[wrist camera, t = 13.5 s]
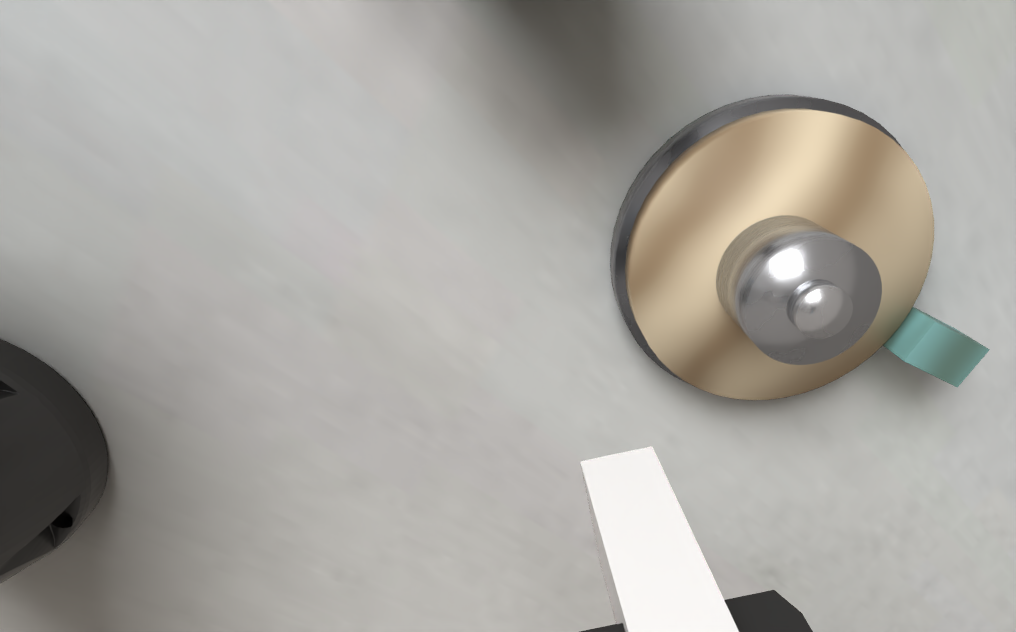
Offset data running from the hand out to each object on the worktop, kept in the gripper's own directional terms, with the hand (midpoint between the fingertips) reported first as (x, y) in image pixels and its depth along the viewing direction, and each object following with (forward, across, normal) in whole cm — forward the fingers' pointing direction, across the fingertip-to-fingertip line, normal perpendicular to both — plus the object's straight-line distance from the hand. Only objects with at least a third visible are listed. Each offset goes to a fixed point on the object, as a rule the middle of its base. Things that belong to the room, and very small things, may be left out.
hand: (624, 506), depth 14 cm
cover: (+19, +12, -4) cm, 22 cm away
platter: (+20, +13, -5) cm, 25 cm away
